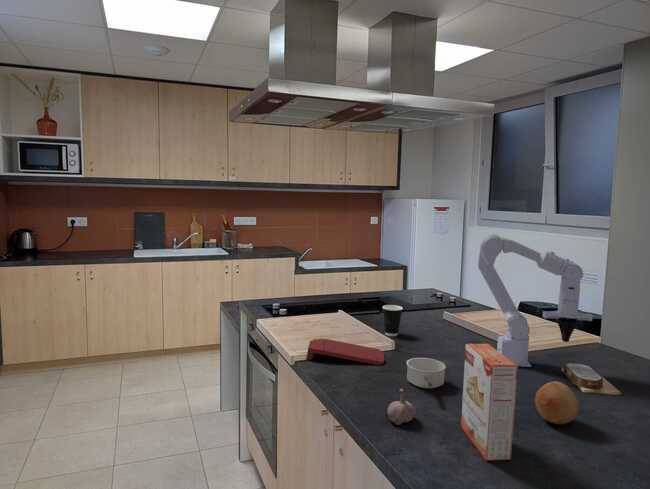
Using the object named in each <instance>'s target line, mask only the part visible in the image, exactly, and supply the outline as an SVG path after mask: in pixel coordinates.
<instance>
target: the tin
mask: <svg viewBox="0 0 650 489" xmlns="http://www.w3.org/2000/svg"><path fill="white" fill-rule="evenodd" d="M563 368H564V373H563V374H564V375H565V376H566V377H567V379H568V380H569V381H570V382H571V383H572V384H573V385H575V386H577V387H578V386H580V387H584V388H588V389H601V388H602V387H603V378H604V377H603V376H602V375H601V374H599V372H597V371H596V369H594V368H593V367H592V366H590V365H587V364H583V363H572V362H567V363H565V364H564V366H563ZM600 375H601V376H602V377H603V378H602V377H601V376H600Z"/></svg>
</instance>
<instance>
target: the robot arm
mask: <svg viewBox="0 0 650 489" xmlns="http://www.w3.org/2000/svg"><path fill="white" fill-rule="evenodd" d="M501 252H502V253H503V254H509V253H514V254H517V255H518V256H521V257H524V258H526V259H528V260H531V261H534V262H536V265H537V267H538V268H540V269H542V270H544V271H547V272H549V273H551V274H553V275H554V276H555V275H556V276H561V279H560V284H559V293H558V294H559V295H558V305H557V306H558V307H557V310H553V311H552V310H549V311H548V310H547V311H546V310H542V318H543V319H556V323H557V325H558V327H559V331H560V335H561V341H563V343H564V342H565V343H569V341H570V338H571V336H572V334H573V332H574V331H575V329H576V327H578V324H579V321H588V322H592V321H593V317H594V316H593V315H592V313H583V312H579V303H580V292H581V280H582V279H583V278H584V272H583V269H582V267H581V266H580V265H578V264H577V263H575V262H574V261H572V260H571V261H570V259H569V258H564V257H561V256H559V255H556V253H555V252H554V251H551V250H550V251H543V252H539V251H537V250H535V249H532V248H530V247H529V246H525V245H524V244H522V243H519V241H518V242H517V241H515V240H514V239H510V238H506V237H503V236H501V237H500V236H499V235H497V234H488V235H486V236H485V237H484V239H483V241H482V243H481V245H480V247H479V255H478V263H477V267H478V269H479V271H480V273H481V275H482V277H483V279H484V280H485V282H486V284H487V286H488V288H489V289H490V290H489V291H490V292H491V293H492V296H493V297H494V300H495V301H496V302H497V305H498V306H499V308H500V310H501V312H502V313H503V316H504V319H505V320H506V321H505V322H506V323H507V326H508V331H507V332H506V333H505V335H499V336H498V338H497V344H496V345H497V348H496V350H497V351H498V352H500V353H501V354H502V355H504V356H505V357H506V358H508V359H509V360H510V361H512V362H513V363H514V364H516V365H517V366H518V367H523V368H525V367H528V368H531V367H532V365H531V363H529V362H530V361H528V359H529V357H528V355H529V348H530V336H529V335H530V332H531V331H530V330H531V328H530V326H529V324H528V319H527V318H526V317H525V316H524V315H523V314H522V313H521V312H520V311H519V310H518V308H517V306H516V305H515V302H514V301H513V299H512V296H511V295H510V294H509V292H508V290H507V288H506V286H505V285H504V282H503V280H502V279H501V277H500V275H499V274H498V272H497V269H496V267H495V266H494V264H495V262H496V260H497V257H498V256H499V255H500V254H501Z"/></svg>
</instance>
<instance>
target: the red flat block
mask: <svg viewBox="0 0 650 489" xmlns="http://www.w3.org/2000/svg"><path fill="white" fill-rule="evenodd" d="M315 354H316V355H317V354H319V355H324V356H329V357H335V358H340V359H344V360H349V361H353V362H354V361H355V362H359V363H365V364H370V365H374V366H381V365H383V364H384V363H386V362H385V360H386V358H385V354H384V351H382V350H381V349H379V348H376V347H370V346H365V345H359V344H354V343H349V342H343V341H338V340H333V339H329V338H317V339H316V338H315V339H312V340H309V344H308V347H307V354H306V357H305V359H306V360H311V361H312V360H313V358H314V355H315Z"/></svg>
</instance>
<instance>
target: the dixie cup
mask: <svg viewBox="0 0 650 489" xmlns="http://www.w3.org/2000/svg"><path fill="white" fill-rule="evenodd" d="M403 308H404V307H402V306H401V305H395V304H385V305H383V306H382V310H383V313H382V314H383V327H384V333H385V334H384V335H386V336H387V337H398V335H399V334H398V333H399V329H400V325H401V318H402V312H403Z"/></svg>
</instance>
